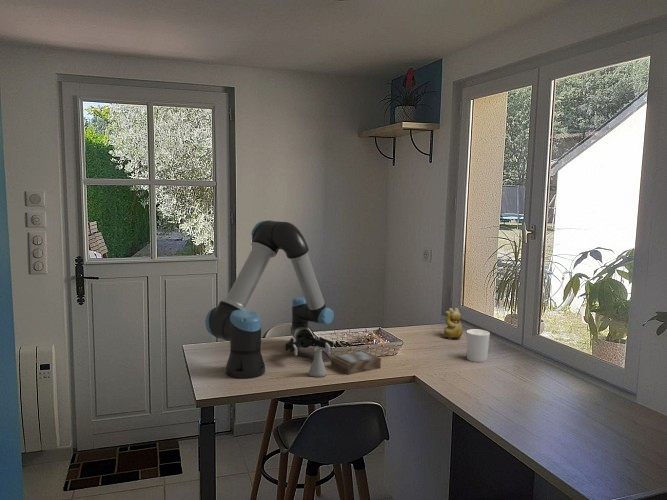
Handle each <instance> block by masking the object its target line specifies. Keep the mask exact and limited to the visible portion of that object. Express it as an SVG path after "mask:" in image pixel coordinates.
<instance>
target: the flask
mask: <svg viewBox="0 0 667 500" xmlns="http://www.w3.org/2000/svg"><path fill="white" fill-rule="evenodd" d="M313 350H314V355H313V356H314V357H313V360H312V363H311V365H310V369H309V371H308V375H309V376H310V377H315V378H321V377H322V378H323V377H325V376H327V375H328V373H327V369H326V367H325V364H324V361H323V355H322V354H323V353H322V352H323V348H322V347H316V348H315V347H314V349H313Z"/></svg>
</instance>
